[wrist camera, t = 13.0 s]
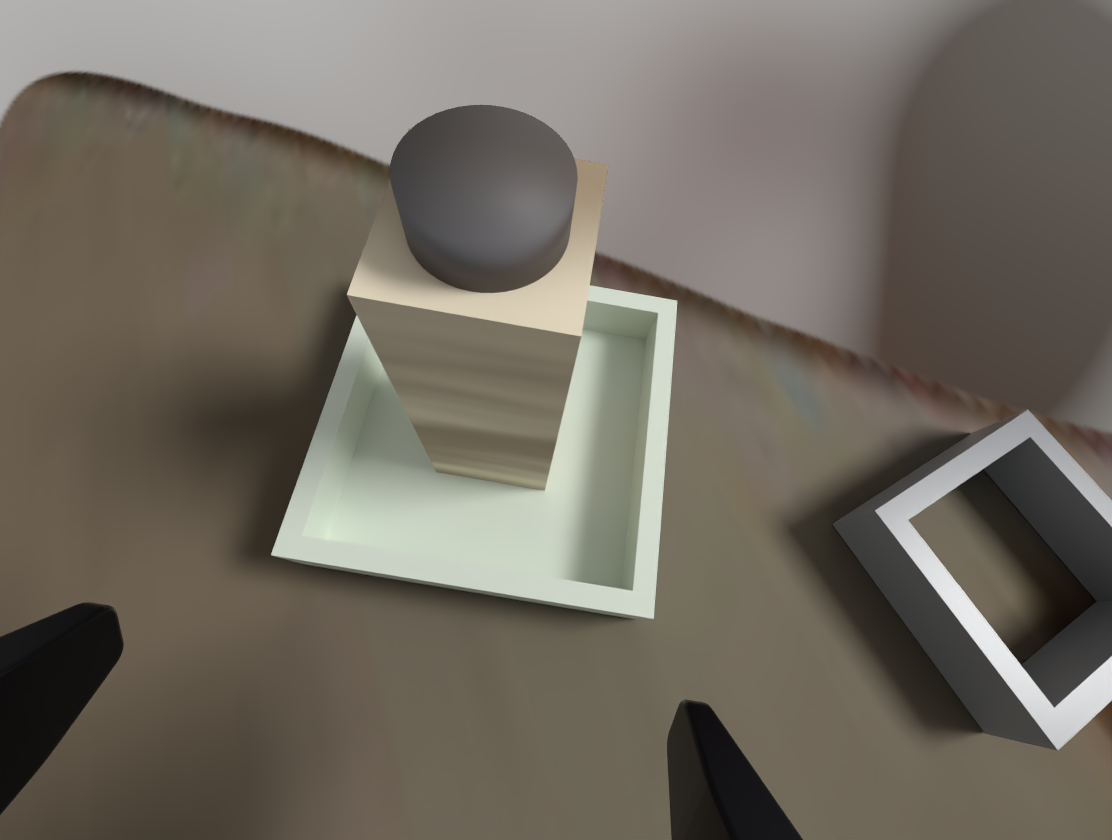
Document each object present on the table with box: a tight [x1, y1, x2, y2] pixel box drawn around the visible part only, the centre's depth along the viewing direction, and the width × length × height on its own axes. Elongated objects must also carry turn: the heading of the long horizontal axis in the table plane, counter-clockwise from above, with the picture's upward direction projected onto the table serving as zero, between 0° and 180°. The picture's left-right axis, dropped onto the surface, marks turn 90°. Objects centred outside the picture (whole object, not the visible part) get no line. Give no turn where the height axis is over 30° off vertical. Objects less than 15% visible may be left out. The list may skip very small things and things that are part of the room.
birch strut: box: [347, 105, 608, 491], centre depth 14 cm, size 4×4×12 cm
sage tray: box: [271, 285, 677, 619], centre depth 19 cm, size 12×12×2 cm
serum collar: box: [833, 410, 1112, 750], centre depth 18 cm, size 8×8×2 cm
